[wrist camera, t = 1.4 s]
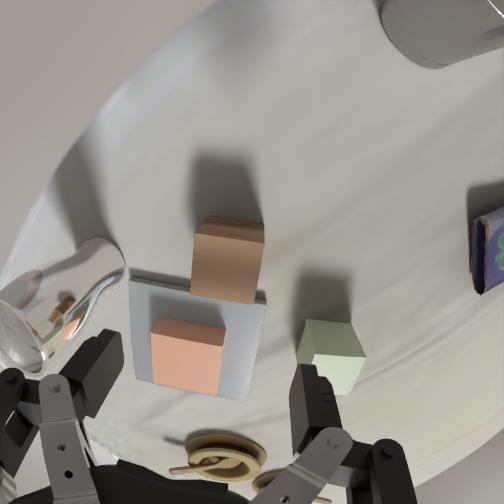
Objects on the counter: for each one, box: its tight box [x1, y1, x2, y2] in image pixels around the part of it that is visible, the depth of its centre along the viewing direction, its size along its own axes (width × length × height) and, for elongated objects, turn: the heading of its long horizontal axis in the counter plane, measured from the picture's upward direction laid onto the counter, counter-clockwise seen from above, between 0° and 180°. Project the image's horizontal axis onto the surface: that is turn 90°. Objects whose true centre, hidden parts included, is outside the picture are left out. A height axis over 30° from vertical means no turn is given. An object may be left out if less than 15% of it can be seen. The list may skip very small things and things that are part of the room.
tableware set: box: [169, 434, 332, 504], centre depth 38 cm, size 30×20×6 cm, turn 43°
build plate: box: [129, 277, 267, 401], centre depth 29 cm, size 14×14×4 cm
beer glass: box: [0, 237, 126, 377], centre depth 21 cm, size 7×7×15 cm
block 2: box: [296, 319, 366, 395], centre depth 28 cm, size 5×5×6 cm
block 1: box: [190, 216, 264, 305], centre depth 25 cm, size 5×5×6 cm
